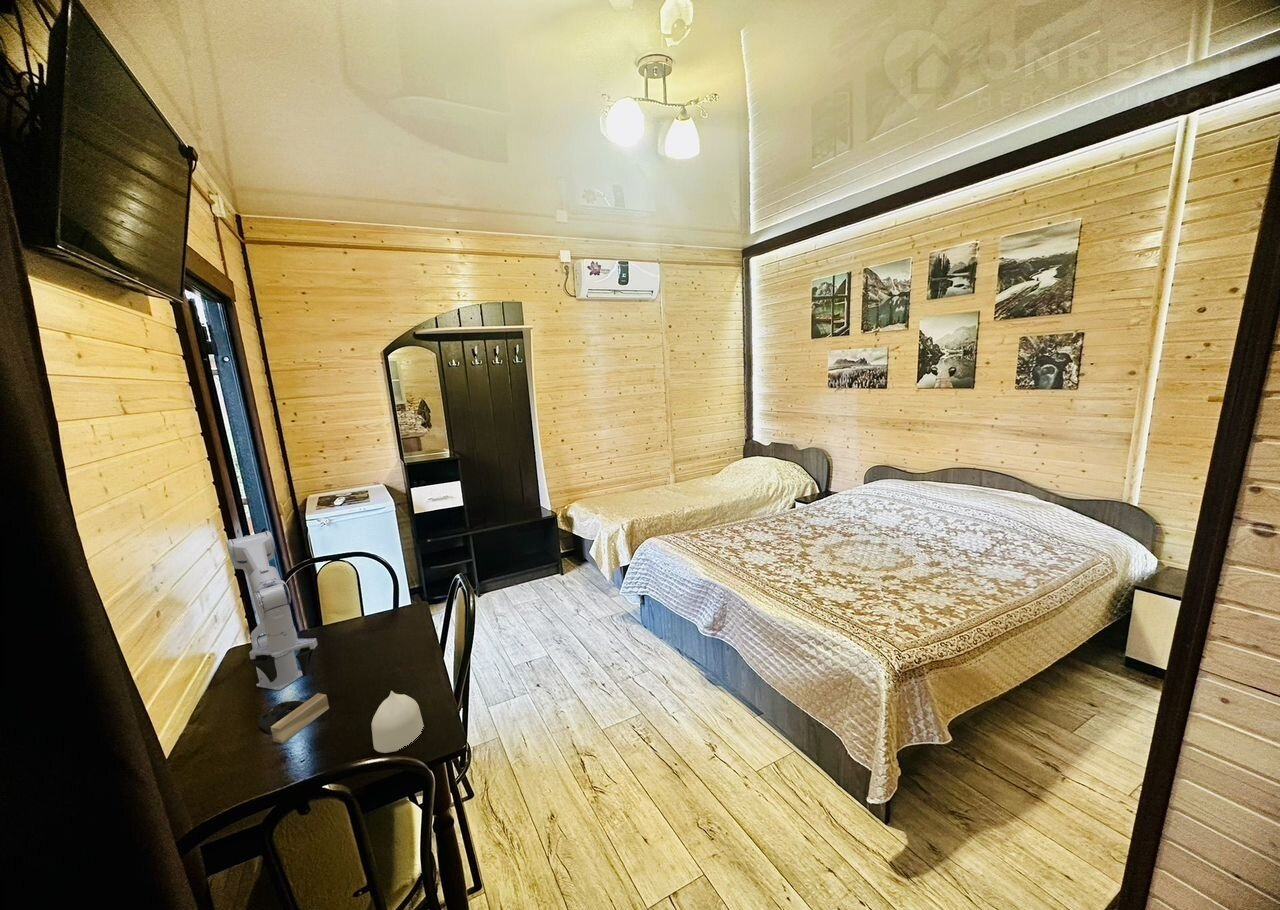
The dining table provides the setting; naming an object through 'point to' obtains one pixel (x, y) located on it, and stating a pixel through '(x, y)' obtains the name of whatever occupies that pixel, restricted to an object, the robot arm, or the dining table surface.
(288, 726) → the bench stop
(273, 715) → the gaming controller
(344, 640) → the dining table surface
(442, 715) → the dining table surface
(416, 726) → the teardrop
